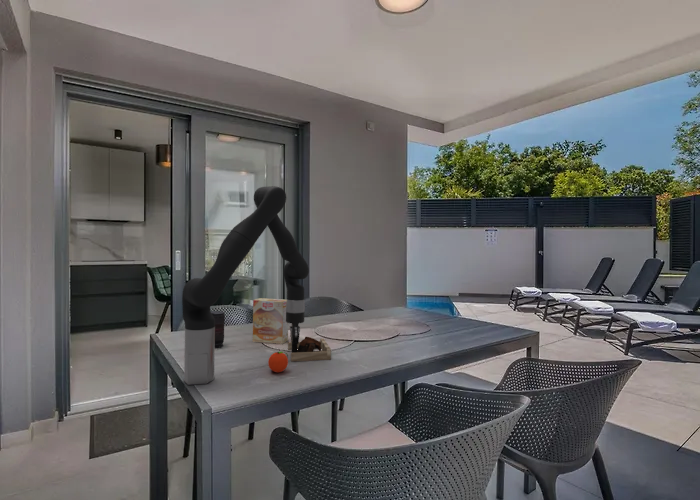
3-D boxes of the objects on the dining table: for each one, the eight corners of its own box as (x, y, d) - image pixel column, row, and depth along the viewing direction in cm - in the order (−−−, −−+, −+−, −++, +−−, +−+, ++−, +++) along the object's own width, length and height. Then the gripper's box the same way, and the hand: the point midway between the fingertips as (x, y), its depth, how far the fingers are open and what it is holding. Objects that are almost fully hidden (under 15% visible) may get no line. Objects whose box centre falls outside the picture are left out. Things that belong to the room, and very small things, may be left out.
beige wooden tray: (330, 359, 152) (331, 349, 152) (291, 361, 149) (291, 351, 149) (323, 347, 170) (323, 338, 170) (287, 349, 166) (288, 339, 166)
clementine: (281, 366, 142) (281, 347, 142) (294, 370, 138) (294, 351, 138) (263, 372, 136) (264, 351, 136) (276, 376, 132) (277, 355, 131)
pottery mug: (292, 354, 161) (300, 335, 164) (312, 362, 163) (320, 344, 166) (299, 354, 150) (307, 334, 153) (320, 363, 152) (328, 343, 155)
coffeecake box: (252, 342, 178) (252, 299, 177) (259, 338, 184) (259, 297, 184) (282, 344, 174) (283, 301, 174) (288, 340, 181) (289, 299, 181)
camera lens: (218, 349, 164) (218, 314, 164) (201, 348, 166) (201, 313, 166) (228, 344, 172) (228, 311, 172) (211, 343, 174) (211, 310, 174)
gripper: (306, 313, 152) (305, 357, 152) (302, 307, 165) (301, 348, 165) (287, 313, 150) (286, 357, 151) (285, 308, 163) (284, 349, 163)
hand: (294, 352), depth 158 cm, fingers closed
